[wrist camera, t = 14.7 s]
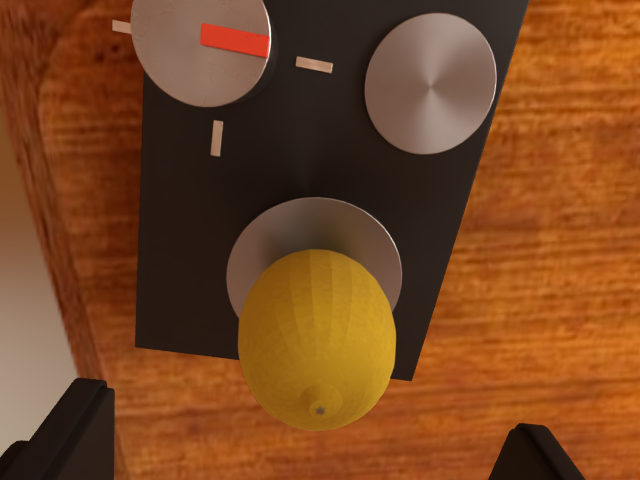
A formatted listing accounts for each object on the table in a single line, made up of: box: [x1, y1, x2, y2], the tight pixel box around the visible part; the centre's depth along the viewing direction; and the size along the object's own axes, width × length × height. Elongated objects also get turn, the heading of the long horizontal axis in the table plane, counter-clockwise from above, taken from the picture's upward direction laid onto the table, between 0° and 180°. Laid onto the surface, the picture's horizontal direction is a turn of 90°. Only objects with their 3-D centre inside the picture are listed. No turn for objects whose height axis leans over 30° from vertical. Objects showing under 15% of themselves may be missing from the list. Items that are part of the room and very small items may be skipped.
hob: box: [112, 0, 529, 381], centre depth 19 cm, size 15×18×3 cm
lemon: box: [238, 249, 396, 431], centre depth 15 cm, size 6×6×8 cm
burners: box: [226, 12, 497, 319], centre depth 18 cm, size 10×16×1 cm, turn 170°
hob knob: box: [130, 0, 279, 107], centre depth 14 cm, size 4×4×4 cm
